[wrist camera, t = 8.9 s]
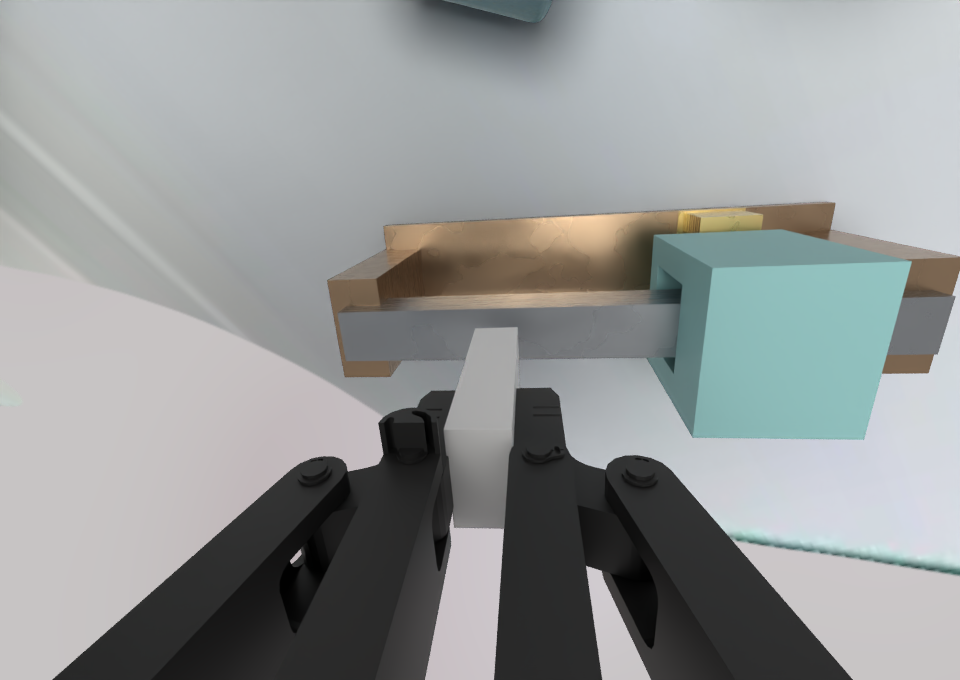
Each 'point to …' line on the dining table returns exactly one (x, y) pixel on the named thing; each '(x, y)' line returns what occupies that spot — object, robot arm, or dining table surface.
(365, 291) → the rail
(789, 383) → the block
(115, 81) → the dining table surface
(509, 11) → the flower pot
